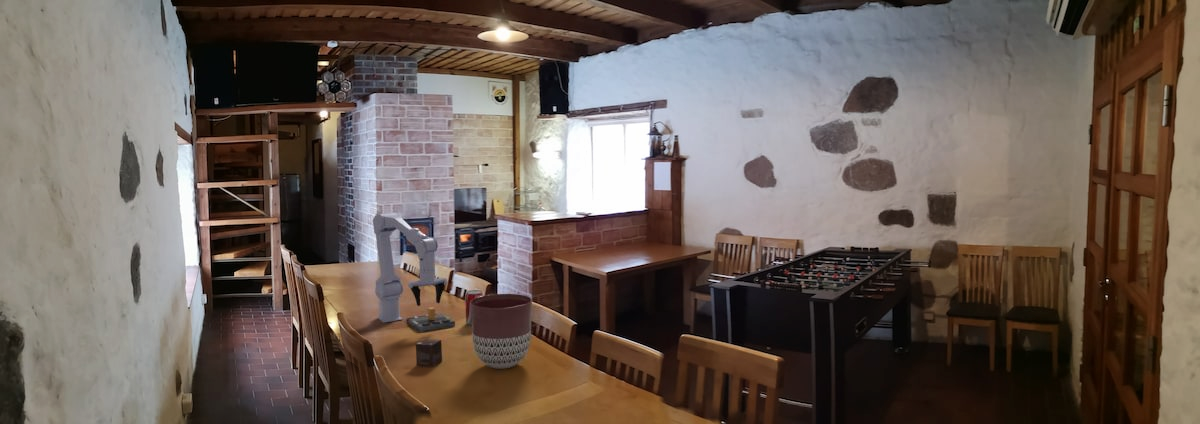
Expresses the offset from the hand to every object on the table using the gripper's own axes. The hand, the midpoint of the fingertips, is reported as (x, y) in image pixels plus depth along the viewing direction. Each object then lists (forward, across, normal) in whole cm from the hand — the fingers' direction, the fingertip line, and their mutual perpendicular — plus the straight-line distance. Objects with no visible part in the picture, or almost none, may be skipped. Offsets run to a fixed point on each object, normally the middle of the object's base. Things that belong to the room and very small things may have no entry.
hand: (428, 304), depth 244 cm
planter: (+10, +6, -55) cm, 56 cm away
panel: (+10, +3, +5) cm, 12 cm away
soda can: (+10, +18, -3) cm, 21 cm away
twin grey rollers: (+10, +3, +15) cm, 18 cm away
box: (+10, -13, -39) cm, 42 cm away
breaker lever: (+8, +3, +5) cm, 10 cm away
